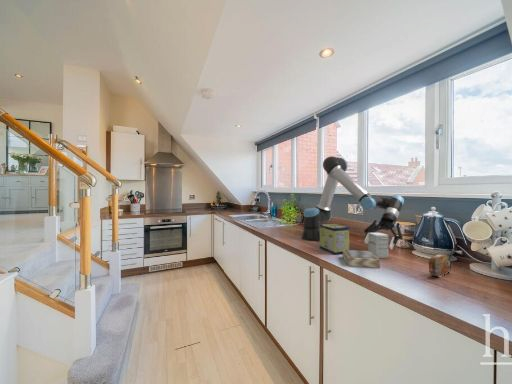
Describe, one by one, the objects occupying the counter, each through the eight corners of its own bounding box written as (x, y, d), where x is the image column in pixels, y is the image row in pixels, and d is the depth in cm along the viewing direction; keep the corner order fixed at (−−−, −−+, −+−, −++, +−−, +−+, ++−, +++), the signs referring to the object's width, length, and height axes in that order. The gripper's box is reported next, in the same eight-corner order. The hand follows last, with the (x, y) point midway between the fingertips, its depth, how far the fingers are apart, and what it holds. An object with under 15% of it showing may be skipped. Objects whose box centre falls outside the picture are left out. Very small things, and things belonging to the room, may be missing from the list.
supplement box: (367, 253, 120) (367, 232, 120) (379, 253, 120) (379, 232, 120) (376, 258, 112) (376, 235, 112) (389, 257, 113) (388, 234, 113)
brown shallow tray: (348, 265, 101) (348, 257, 101) (342, 256, 115) (342, 249, 115) (379, 267, 98) (379, 259, 98) (370, 258, 112) (370, 250, 112)
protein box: (332, 246, 136) (332, 223, 136) (349, 253, 121) (349, 227, 121) (319, 247, 133) (319, 224, 133) (335, 255, 118) (334, 228, 118)
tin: (436, 279, 86) (436, 259, 85) (427, 276, 88) (427, 257, 88) (452, 272, 92) (452, 253, 92) (443, 270, 95) (443, 252, 95)
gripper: (416, 223, 114) (404, 254, 106) (371, 218, 135) (358, 244, 127) (412, 214, 112) (400, 246, 103) (366, 211, 132) (353, 237, 124)
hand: (377, 245), depth 115 cm, fingers open, 13 cm apart
